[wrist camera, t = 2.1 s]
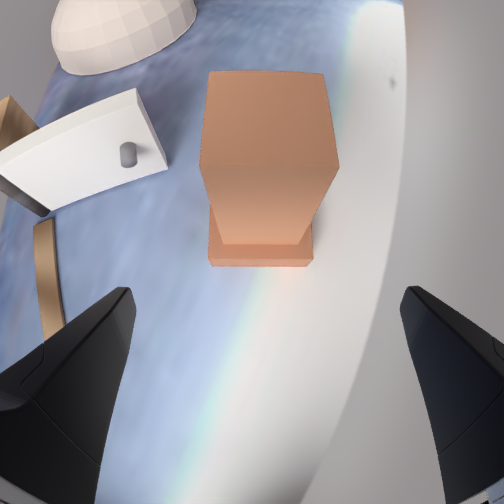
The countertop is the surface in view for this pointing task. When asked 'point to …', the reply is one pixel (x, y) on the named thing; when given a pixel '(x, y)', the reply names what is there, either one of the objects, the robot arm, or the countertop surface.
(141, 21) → the kettle
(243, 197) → the tan square pedestal
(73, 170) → the door
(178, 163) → the countertop surface
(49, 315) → the door frame
